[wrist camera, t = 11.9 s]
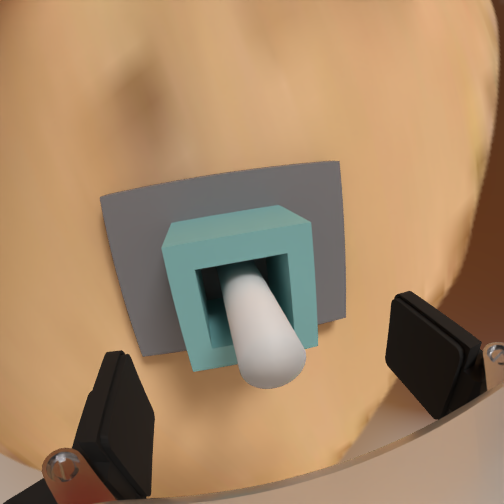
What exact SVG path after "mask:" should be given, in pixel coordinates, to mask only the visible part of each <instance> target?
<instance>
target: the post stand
mask: <svg viewBox="0 0 504 504" xmlns="http://www.w3.org/2000/svg"><path fill="white" fill-rule="evenodd" d="M100 202H101V207H102V212H103V217H104V222H105V227H106V231H107V236H108V240H109V245H110V249H111V253H112V257H113V261H114V265H115V269H116V273H117V276H118V280H119V284H120V287H121V291H122V294H123V298H124V301H125V305H126V308H127V311H128V314H129V318H130V321H131V324H132V327H133V330H134V333H135V336H136V339H137V342H138V345H139V348H140V350H141V353H142V356H151V355H159V354H166V353H173V352H180V351H187V349H186V345H185V342H184V338H183V334H182V331H181V327H180V323H179V320H178V316H177V312H176V308H175V304H174V300H173V296H172V292H171V288H170V284H169V280H168V275H167V271H166V267H165V262H164V258H163V253H162V249H161V247H162V245H163V242H164V240H165V237H166V235H167V232H168V230H169V228H170V225H171V223H174V222H179V221H185V220H190V219H196V218H201V217H207V216H213V215H219V214H225V213H231V212H237V211H243V210H249V209H256V208H262V207H269V206H275V205H280V206H282V207H284V208H286V209H288V210H289V211H291V212H293V213H295V214H297V215H299V216H301V217H303V218H304V219H306V220H308V221H310V222H311V227H312V239H313V252H314V267H315V283H316V302H317V325H318V324H322V323H326V322H330V321H334V320H338V319H342V318H346V266H345V235H344V215H343V199H342V186H341V174H340V163H339V161H323V162H312V163H301V164H291V165H282V166H273V167H265V168H257V169H249V170H241V171H234V172H227V173H220V174H214V175H207V176H201V177H195V178H189V179H183V180H177V181H172V182H166V183H161V184H156V185H150V186H145V187H140V188H135V189H131V190H126V191H121V192H117V193H112V194H108V195H104V196H102V197H100ZM201 274H202V279H203V284H204V288H205V293H206V298H207V300H213V299H218V298H223V299H224V304H225V309H226V313H227V318H228V322H229V327H230V331H231V336H232V340H233V344H234V349H235V353H236V357H237V362H238V366H239V370H240V374H241V376H242V377H243V379H244V380H245V381H246V382H247V383H249V384H250V385H252V386H254V387H257V388H262V389H271V388H277V387H280V386H283V385H285V384H287V383H289V382H291V381H292V380H293V379H295V378H296V377H297V376H298V375H299V374H300V372H301V371H302V369H303V367H304V365H305V361H306V352H305V349H304V347H303V345H302V343H301V342H300V340H299V338H298V337H297V335H296V333H295V331H294V330H293V328H292V326H291V325H290V323H289V321H288V319H287V318H286V316H285V314H284V313H283V311H282V309H281V307H280V306H279V304H278V302H277V301H276V299H275V297H274V295H273V294H272V292H271V290H270V289H269V281H268V273H267V264H266V257H264V258H258V259H253V260H247V261H241V262H236V263H230V264H225V265H219V266H214V267H208V268H202V269H201Z"/></svg>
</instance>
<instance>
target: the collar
mask: <svg viewBox="0 0 504 504" xmlns="http://www.w3.org/2000/svg"><path fill="white" fill-rule="evenodd" d="M161 249H162V253H163V258H164V262H165V267H166V271H167V275H168V280H169V284H170V288H171V292H172V296H173V300H174V304H175V308H176V312H177V316H178V320H179V323H180V327H181V331H182V334H183V338H184V342H185V345H186V349H187V352H188V356H189V359H190V362H191V366H192V369H193V372H195V371H201V370H207V369H213V368H219V367H225V366H230V365H235V364H238V362H237V357H236V353H235V349H234V344H233V340H232V336H231V331H230V327H229V322H228V318H227V313H226V309H225V304H224V299H223V298H218V299H213V300H207V298H206V293H205V288H204V284H203V279H202V274H201V269H202V268H208V267H214V266H219V265H225V264H230V263H236V262H241V261H247V260H253V259H258V258H264V257H266V264H267V273H268V281H269V289H270V290H271V292H272V294H273V295H274V297H275V299H276V301H277V302H278V304H279V306H280V307H281V309H282V311H283V313H284V314H285V316H286V318H287V319H288V321H289V323H290V325H291V326H292V328H293V330H294V331H295V333H296V335H297V337H298V338H299V340H300V342H301V343H302V345H303V347H304V349H307V348H311V347H315V346H318V325H317V302H316V283H315V267H314V252H313V239H312V227H311V222H310V221H308V220H306V219H304V218H303V217H301V216H299V215H297V214H295V213H293V212H291V211H289V210H288V209H286V208H284V207H282V206H280V205H275V206H269V207H262V208H256V209H249V210H243V211H237V212H231V213H225V214H219V215H213V216H207V217H201V218H196V219H190V220H185V221H179V222H174V223H171V225H170V228H169V230H168V232H167V235H166V237H165V240H164V242H163V245H162V247H161Z"/></svg>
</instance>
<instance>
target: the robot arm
mask: <svg viewBox="0 0 504 504" xmlns="http://www.w3.org/2000/svg"><path fill="white" fill-rule="evenodd" d="M481 343H482V342H481V341H479V340H478V339H477V338H476V337H474V336H473V335H472V334H470V333H469V332H468V331H466V330H465V329H464V328H462V327H461V326H459V325H458V324H457V323H455V322H454V321H453V320H451V319H450V318H448V317H447V316H446V315H444V314H443V313H441V312H440V311H439V310H437V309H436V308H434V307H433V306H431V305H430V304H429V303H427V302H426V301H424V300H423V299H421V298H420V297H419V296H417V295H416V294H414V293H413V292H411V291H407V292H404V293H400V294H397V295H396V296H395V298H394V300H392V303H391V312H390V323H389V332H388V340H387V348H386V355H385V360H386V363H387V365H388V367H389V368H390V369H391V370H392V371H393V372H394V374H395V375H396V376H397V377H398V378H399V379H400V380H401V381H402V383H403V384H404V385H405V386H406V387H407V388H408V389H409V390H410V392H411V393H412V394H413V395H414V396H415V397H416V399H417V400H418V401H419V402H420V403H421V404H422V406H423V407H424V408H425V409H426V410H427V411H428V413H429V414H430V415H431V416H432V417H433V418H434V419H438V420H437V421H435V422H434V423H432V424H430V425H428V426H426V427H424V428H422V429H420V430H418V431H416V432H414V433H412V434H410V435H408V436H406V437H404V438H401V439H399V440H397V441H395V442H393V443H390V444H388V445H386V446H383V447H381V448H379V449H376V450H374V451H371V452H369V453H367V454H364V455H361V456H359V457H356V458H353V459H350V460H348V461H345V462H342V463H339V464H336V465H333V466H330V467H327V468H324V469H321V470H317V471H314V472H311V473H307V474H304V475H300V476H296V477H292V478H289V479H285V480H281V481H276V482H272V483H267V484H263V485H258V486H253V487H248V488H242V489H236V490H230V491H224V492H216V493H208V494H200V495H192V496H181V497H168V498H150V499H146V496H150V495H151V480H152V455H153V437H154V422H155V416H154V411H153V409H152V406H151V404H150V402H149V400H148V397H147V395H146V393H145V391H144V388H143V386H142V384H141V381H140V379H139V377H138V374H137V372H136V369H135V367H134V364H133V362H132V359H131V357H130V355H129V354H125V353H124V352H123V351H122V350H121V351H113V352H106V354H105V356H104V359H103V362H102V364H101V367H100V370H99V373H98V376H97V379H96V381H95V384H94V387H93V390H92V391H91V392H90V393H89V395H88V397H87V401H86V404H85V407H84V410H83V413H82V416H81V419H80V422H79V426H78V429H77V432H76V436H75V439H74V443H73V446H72V448H61V449H58V450H55V451H53V452H52V453H50V454H49V455H48V456H47V457H46V459H45V460H44V462H43V465H42V474H43V477H44V478H43V479H41V480H40V481H38V482H37V483H35V484H33V485H32V486H30V487H29V488H27V489H25V490H24V491H22V492H21V493H19V494H17V495H15V496H14V497H12V498H10V499H9V500H7V501H6V502H5V503H3V504H504V343H500V342H494V343H490V344H488V345H487V346H485V348H484V350H483V351H482V350H480V346H481Z"/></svg>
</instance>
